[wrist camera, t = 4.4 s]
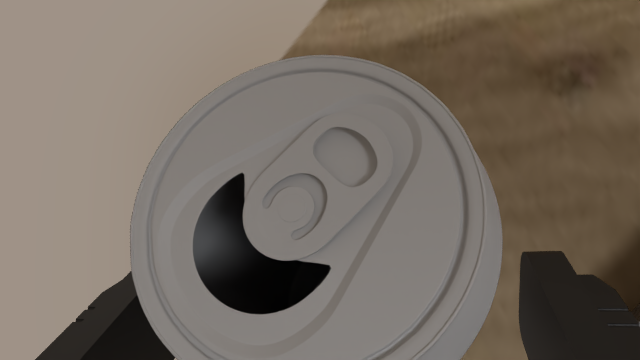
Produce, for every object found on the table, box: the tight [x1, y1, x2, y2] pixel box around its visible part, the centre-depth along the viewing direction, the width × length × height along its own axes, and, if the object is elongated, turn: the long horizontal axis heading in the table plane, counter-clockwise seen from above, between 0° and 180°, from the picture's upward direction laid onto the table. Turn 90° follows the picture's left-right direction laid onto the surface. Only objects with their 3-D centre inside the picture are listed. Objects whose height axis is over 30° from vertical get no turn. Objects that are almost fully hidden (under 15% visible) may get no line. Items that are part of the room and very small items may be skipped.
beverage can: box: [130, 55, 502, 360], centre depth 12 cm, size 6×6×12 cm
